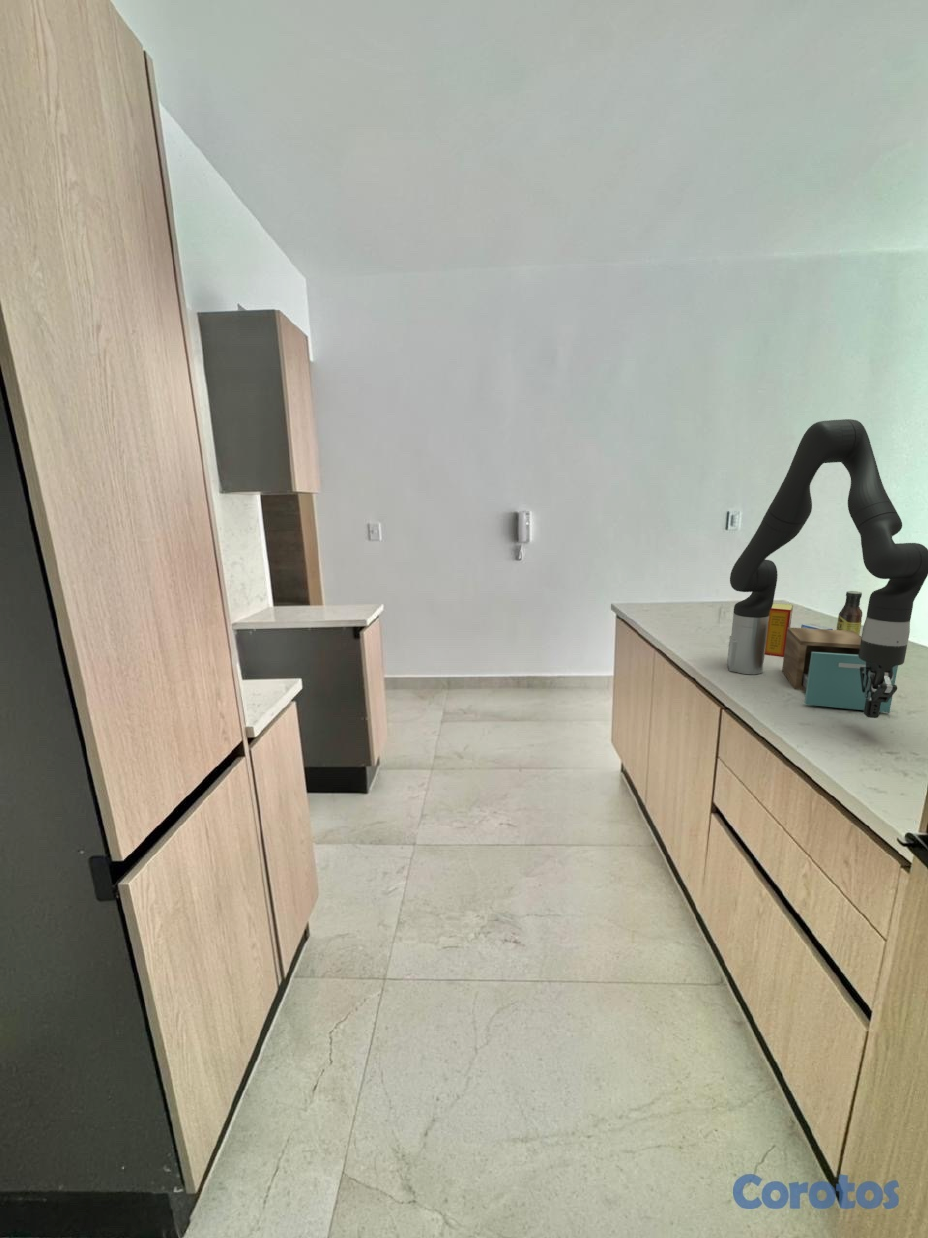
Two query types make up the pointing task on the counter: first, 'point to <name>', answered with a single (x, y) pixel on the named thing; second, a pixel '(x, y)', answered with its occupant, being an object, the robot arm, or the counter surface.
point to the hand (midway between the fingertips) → (870, 716)
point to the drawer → (837, 682)
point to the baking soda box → (778, 629)
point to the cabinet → (814, 649)
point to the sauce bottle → (851, 613)
